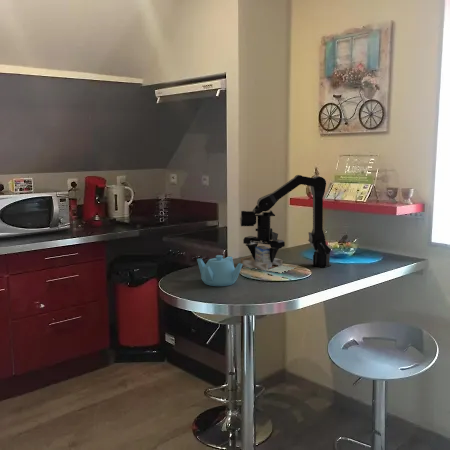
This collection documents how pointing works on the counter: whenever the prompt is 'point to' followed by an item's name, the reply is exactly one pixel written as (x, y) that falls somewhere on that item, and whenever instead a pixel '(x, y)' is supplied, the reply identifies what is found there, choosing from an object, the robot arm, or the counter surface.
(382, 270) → the counter surface
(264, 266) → the shelf lane
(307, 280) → the counter surface
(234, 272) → the teapot
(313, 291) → the counter surface
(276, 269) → the mat
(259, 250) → the medicine box
